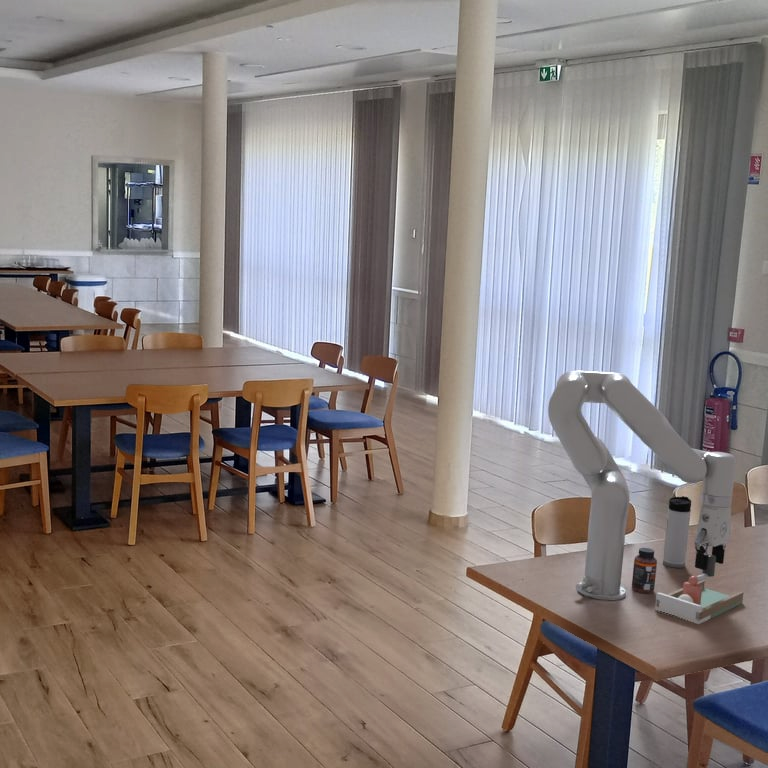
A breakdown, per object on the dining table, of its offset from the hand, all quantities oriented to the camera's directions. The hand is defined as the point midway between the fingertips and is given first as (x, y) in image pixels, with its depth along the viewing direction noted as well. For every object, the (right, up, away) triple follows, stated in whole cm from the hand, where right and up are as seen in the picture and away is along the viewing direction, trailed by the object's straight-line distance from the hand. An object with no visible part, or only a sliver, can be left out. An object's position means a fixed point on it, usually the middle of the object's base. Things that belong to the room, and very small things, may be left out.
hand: (709, 565), depth 267 cm
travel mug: (0, -6, +34) cm, 34 cm away
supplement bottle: (-15, -9, +10) cm, 20 cm away
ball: (-8, -8, -7) cm, 13 cm away
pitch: (-3, -11, -1) cm, 11 cm away
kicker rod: (-3, -9, -1) cm, 10 cm away
